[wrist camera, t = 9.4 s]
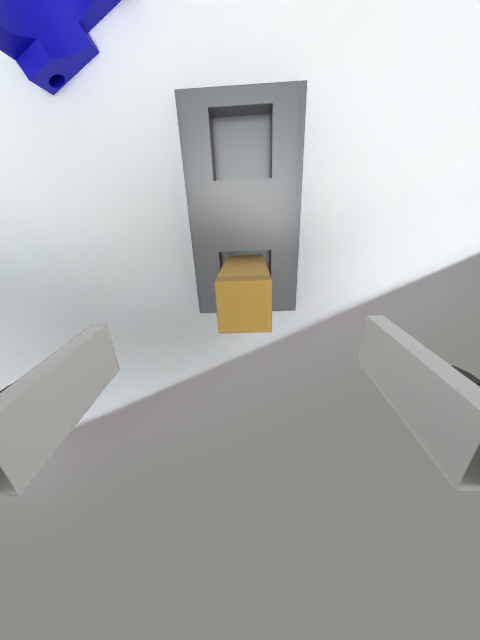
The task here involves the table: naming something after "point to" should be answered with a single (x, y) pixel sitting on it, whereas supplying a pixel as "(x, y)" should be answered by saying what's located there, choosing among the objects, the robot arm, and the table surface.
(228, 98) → the panel
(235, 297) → the plug
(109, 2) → the cable clip
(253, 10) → the table surface
